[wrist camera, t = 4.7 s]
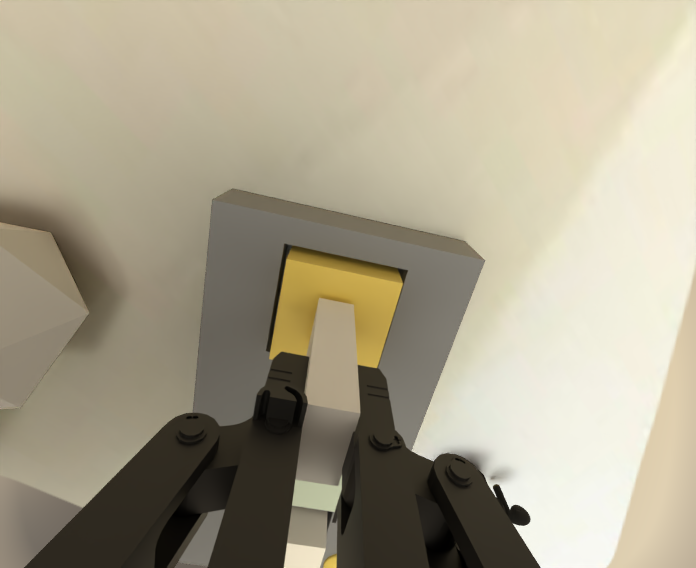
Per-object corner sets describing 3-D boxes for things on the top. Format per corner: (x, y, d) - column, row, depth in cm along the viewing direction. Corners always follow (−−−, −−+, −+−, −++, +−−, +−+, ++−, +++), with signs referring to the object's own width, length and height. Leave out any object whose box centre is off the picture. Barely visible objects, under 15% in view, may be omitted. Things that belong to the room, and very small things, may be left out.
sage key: (253, 458, 22) (242, 497, 20) (266, 389, 20) (255, 424, 18) (338, 472, 22) (337, 512, 20) (357, 406, 20) (359, 441, 18)
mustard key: (277, 332, 20) (268, 359, 17) (294, 241, 18) (286, 258, 16) (370, 349, 20) (373, 378, 18) (395, 263, 18) (403, 283, 16)
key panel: (195, 518, 27) (177, 566, 24) (232, 188, 18) (210, 200, 15) (357, 541, 28) (358, 590, 25) (465, 241, 20) (486, 262, 17)
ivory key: (237, 547, 25) (226, 590, 23) (246, 494, 23) (236, 535, 21) (312, 557, 25) (309, 601, 23) (327, 507, 23) (325, 548, 21)
